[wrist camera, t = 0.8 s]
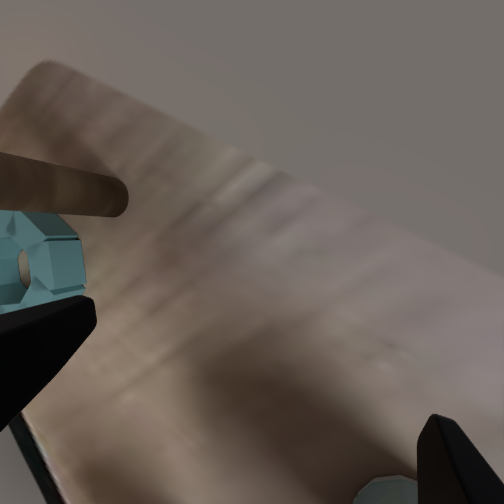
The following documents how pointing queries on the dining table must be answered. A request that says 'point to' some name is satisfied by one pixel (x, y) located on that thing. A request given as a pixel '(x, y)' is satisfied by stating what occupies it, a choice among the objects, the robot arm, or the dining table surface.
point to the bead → (38, 260)
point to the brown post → (58, 189)
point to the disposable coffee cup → (388, 491)
